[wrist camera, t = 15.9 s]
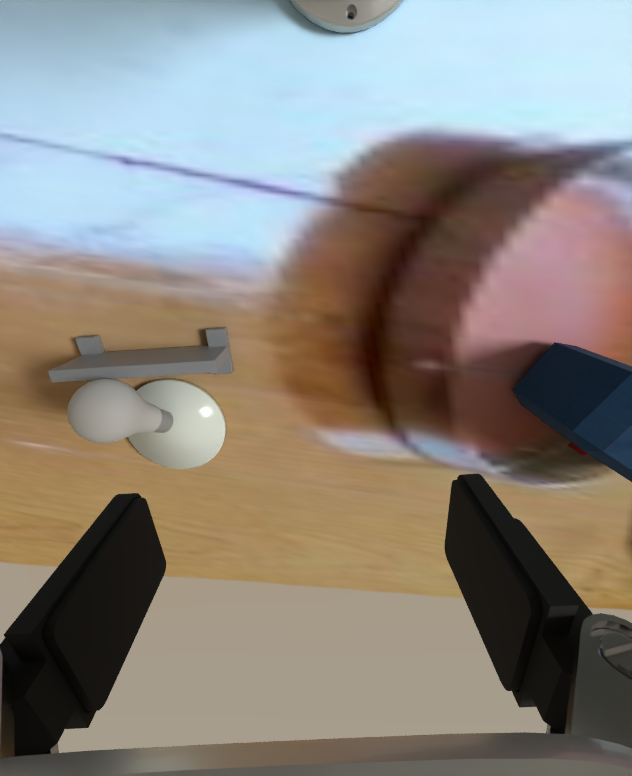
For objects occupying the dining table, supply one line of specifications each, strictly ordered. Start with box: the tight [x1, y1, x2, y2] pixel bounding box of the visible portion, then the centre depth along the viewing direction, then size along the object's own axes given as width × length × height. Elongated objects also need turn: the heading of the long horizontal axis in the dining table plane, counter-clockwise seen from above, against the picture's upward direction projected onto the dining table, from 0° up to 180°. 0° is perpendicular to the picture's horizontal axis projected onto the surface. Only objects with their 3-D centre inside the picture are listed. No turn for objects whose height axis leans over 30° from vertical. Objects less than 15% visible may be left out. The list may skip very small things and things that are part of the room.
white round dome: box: [128, 379, 226, 469], centre depth 40 cm, size 12×12×1 cm
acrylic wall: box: [48, 327, 233, 383], centre depth 35 cm, size 5×16×6 cm, turn 94°
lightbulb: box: [67, 379, 173, 443], centre depth 34 cm, size 6×6×11 cm
